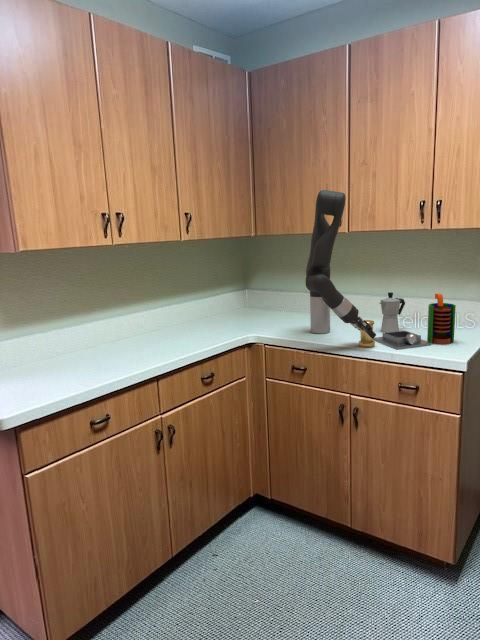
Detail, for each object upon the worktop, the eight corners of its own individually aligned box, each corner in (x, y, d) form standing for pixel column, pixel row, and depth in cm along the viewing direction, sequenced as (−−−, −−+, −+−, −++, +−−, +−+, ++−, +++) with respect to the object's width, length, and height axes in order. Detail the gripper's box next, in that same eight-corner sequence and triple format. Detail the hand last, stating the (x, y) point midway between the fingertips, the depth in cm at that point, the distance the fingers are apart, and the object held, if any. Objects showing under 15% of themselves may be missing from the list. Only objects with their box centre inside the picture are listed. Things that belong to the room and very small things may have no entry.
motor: (435, 345, 195) (437, 296, 192) (422, 341, 204) (423, 294, 200) (457, 343, 198) (459, 294, 194) (442, 338, 207) (444, 291, 203)
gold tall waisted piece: (355, 344, 203) (355, 320, 201) (369, 342, 205) (369, 319, 203) (363, 348, 197) (363, 323, 195) (377, 346, 199) (377, 322, 197)
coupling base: (372, 340, 210) (372, 328, 209) (405, 336, 214) (405, 325, 213) (396, 349, 193) (397, 337, 192) (431, 345, 197) (431, 333, 196)
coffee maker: (385, 334, 218) (386, 294, 215) (372, 331, 226) (373, 292, 223) (411, 330, 224) (411, 291, 221) (397, 326, 232) (398, 289, 229)
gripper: (359, 304, 189) (386, 331, 194) (341, 299, 202) (367, 325, 208) (346, 319, 188) (374, 346, 194) (330, 313, 202) (356, 338, 207)
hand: (370, 335), depth 201 cm, fingers closed on gold tall waisted piece, 5 cm apart
